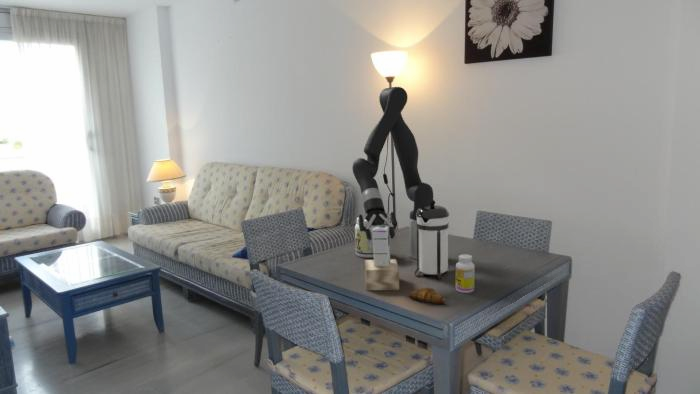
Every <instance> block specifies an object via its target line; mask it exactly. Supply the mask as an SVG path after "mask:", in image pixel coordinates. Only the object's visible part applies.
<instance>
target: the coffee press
mask: <svg viewBox="0 0 700 394" xmlns="http://www.w3.org/2000/svg"><path fill="white" fill-rule="evenodd" d="M429 203H430V205H426V206H422V207H420V208H419V209H418V210H417V212H416V216H417V222H416V227H417V259H416V269H415V271H414V274H413V275H414V276H416V277H419V276H420V275H421V274H424V275H432V276H433V275H435V276H436V279H437V280H438V281H440V280H442V279H443V278H442V274H444V273H450V272H451V269H450V267H449V227H450V226H449V216H450V213H449V211H448V209H447V208H446V207H444V206H443V205H437V204H436V201H435V200H434V199H433V200H431V201H430V202H429Z"/></svg>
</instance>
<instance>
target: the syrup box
mask: <svg viewBox="0 0 700 394" xmlns="http://www.w3.org/2000/svg"><path fill="white" fill-rule="evenodd" d="M372 234H373V258H372V259H373V260H374V266H381V267H388V266H389V264H390V259H391V244H390V243H391V242H390V239H391V238H390V233H389V226H388V225H376V226H374V228H373V229H372Z"/></svg>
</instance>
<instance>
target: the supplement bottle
mask: <svg viewBox="0 0 700 394" xmlns="http://www.w3.org/2000/svg"><path fill="white" fill-rule="evenodd" d="M472 261H473V256H472V255H471V254H467V253H465V254H463V253H462V254H460V255H458V262H456V264H455V290H456V291H457V292H459V293H461V294H468V293H473V292H474V291H475V270H476V268H475V267H476V266H475V263H473V262H472Z"/></svg>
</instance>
